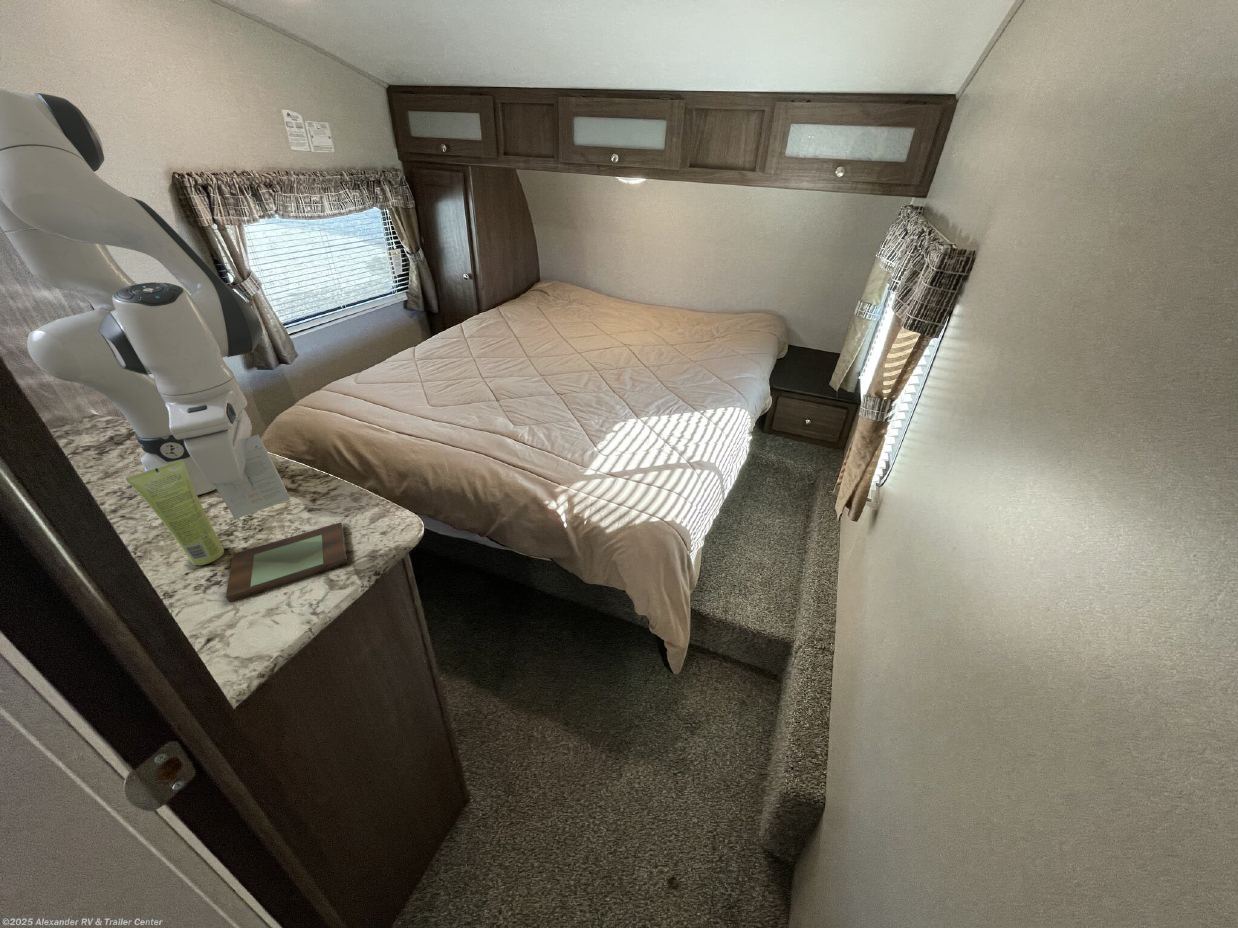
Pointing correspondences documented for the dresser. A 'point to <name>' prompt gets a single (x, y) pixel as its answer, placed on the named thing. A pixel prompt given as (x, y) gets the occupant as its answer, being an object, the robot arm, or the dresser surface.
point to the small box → (255, 483)
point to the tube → (179, 510)
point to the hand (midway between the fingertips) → (248, 479)
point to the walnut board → (286, 561)
